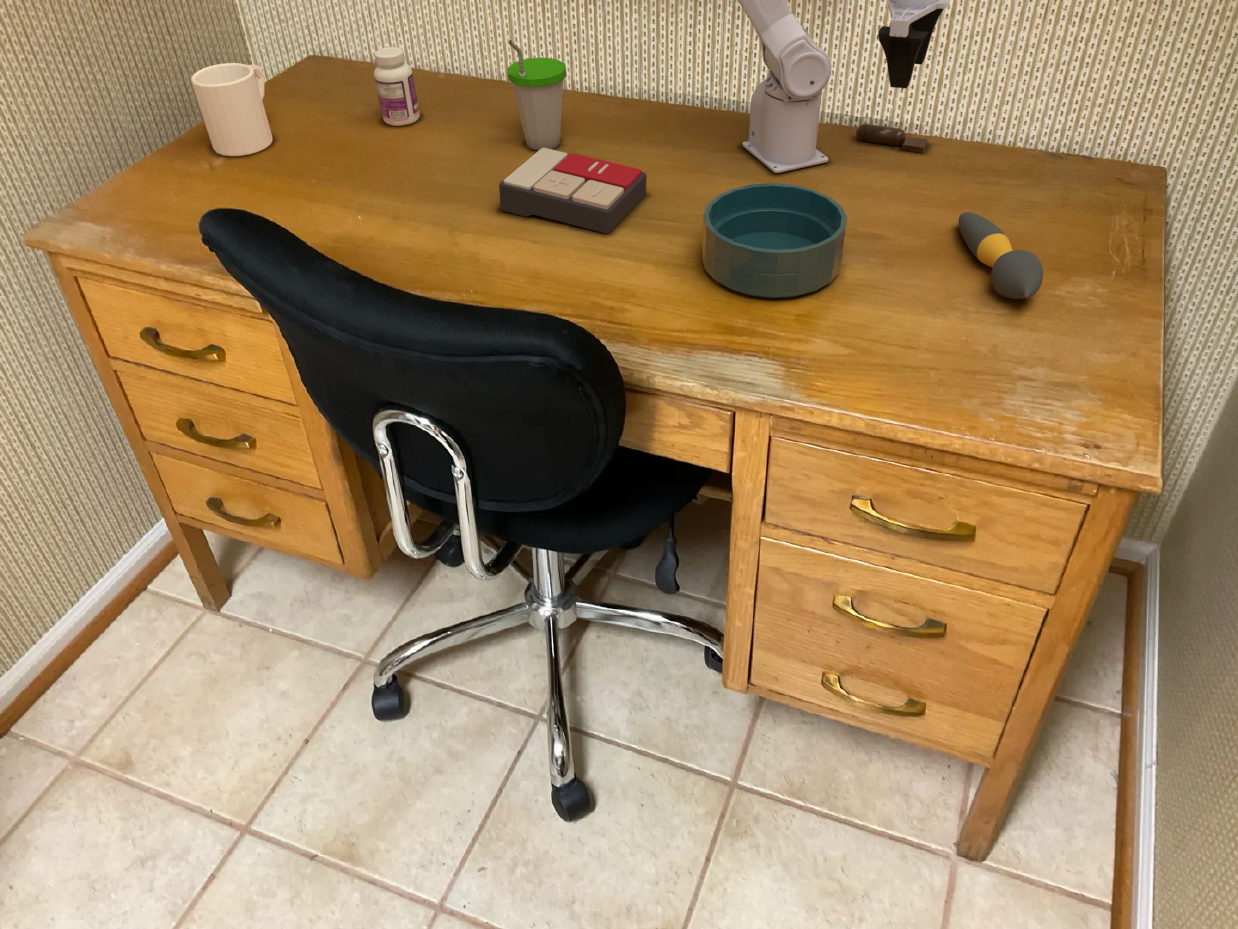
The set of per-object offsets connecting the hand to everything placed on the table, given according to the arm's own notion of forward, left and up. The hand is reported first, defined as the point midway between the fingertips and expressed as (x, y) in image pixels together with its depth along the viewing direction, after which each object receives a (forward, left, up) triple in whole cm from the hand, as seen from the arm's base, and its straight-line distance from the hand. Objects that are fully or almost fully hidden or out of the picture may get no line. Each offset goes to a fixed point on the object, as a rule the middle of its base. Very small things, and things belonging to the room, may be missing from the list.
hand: (907, 74), depth 123 cm
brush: (-1, 0, -10) cm, 10 cm away
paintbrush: (+31, -8, -10) cm, 33 cm away
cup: (-21, -42, -10) cm, 49 cm away
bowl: (+20, -29, -10) cm, 37 cm away
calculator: (-3, -44, -10) cm, 46 cm away
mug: (-41, -79, -10) cm, 90 cm away
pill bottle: (-38, -58, -10) cm, 71 cm away
